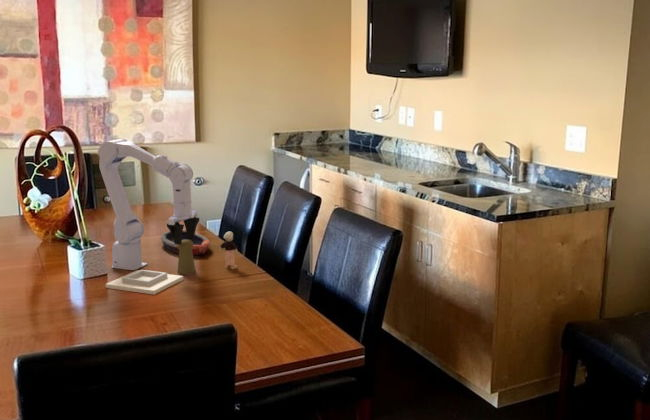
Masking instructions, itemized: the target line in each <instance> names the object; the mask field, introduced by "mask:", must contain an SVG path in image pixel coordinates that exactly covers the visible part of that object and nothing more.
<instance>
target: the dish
mask: <svg viewBox="0 0 650 420" xmlns="http://www.w3.org/2000/svg"><path fill="white" fill-rule="evenodd" d="M185 239H187V234H186V230H183V231H182V240H185ZM187 240H191V241H192V242H193V248H192V254H193V256H196V255H197V256H198V255H203V254H206V252H207V250H208V248H209V246H210V244H211V242H210V240H209V239H208V238H207V237H206V236H204V235H202V234H200V233H197V232H195V235H194V239H187ZM160 241H161V242H162V244H163V246H164V247H165V248H166V249H168V250H169V251H171V252H173V253H176V254H179V249H178V244H175V243H174V240H173V237H172V234H171V232H170V230H167V231H165V232H163V233H162V234H161V235H160Z"/></svg>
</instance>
